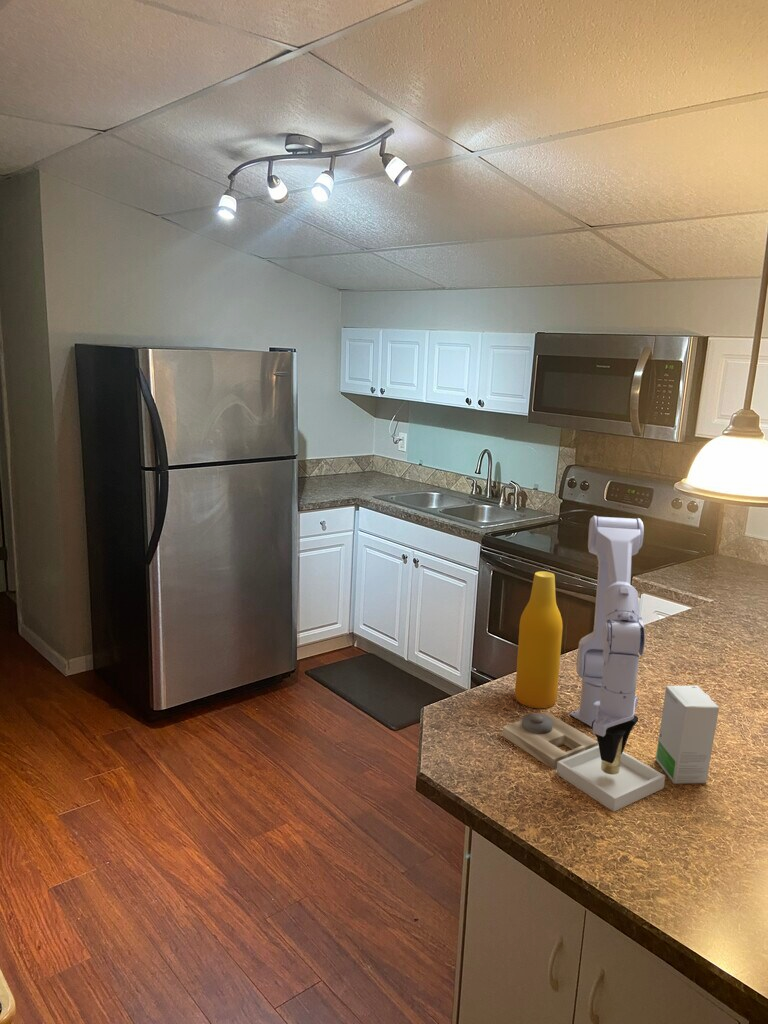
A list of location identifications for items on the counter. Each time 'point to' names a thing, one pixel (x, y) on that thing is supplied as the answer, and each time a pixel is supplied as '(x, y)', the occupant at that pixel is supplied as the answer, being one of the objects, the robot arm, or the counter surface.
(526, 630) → the beer bottle
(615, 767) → the lock pin
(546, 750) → the tensioner bracket
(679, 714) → the skincare box
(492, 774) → the counter surface
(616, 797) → the tray
